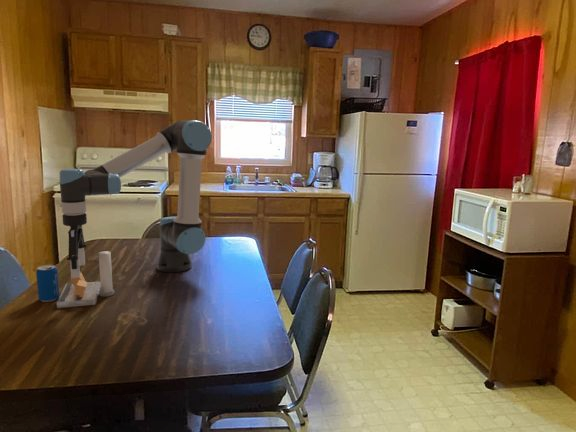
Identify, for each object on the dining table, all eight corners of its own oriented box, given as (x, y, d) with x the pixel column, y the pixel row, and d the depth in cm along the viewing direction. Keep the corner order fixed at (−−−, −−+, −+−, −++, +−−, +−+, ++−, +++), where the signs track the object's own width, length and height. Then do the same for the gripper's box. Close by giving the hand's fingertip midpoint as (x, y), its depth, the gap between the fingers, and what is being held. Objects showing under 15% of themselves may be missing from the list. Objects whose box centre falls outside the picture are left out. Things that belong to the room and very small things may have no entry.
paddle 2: (83, 293, 150) (87, 281, 150) (81, 299, 145) (85, 287, 145) (75, 291, 149) (79, 279, 149) (72, 297, 144) (76, 285, 144)
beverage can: (50, 303, 145) (47, 270, 142) (34, 301, 146) (31, 269, 144) (63, 296, 151) (61, 265, 149) (48, 294, 152) (45, 263, 150)
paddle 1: (86, 282, 158) (81, 271, 157) (84, 287, 153) (78, 276, 152) (78, 285, 158) (73, 274, 156) (76, 290, 153) (70, 280, 151)
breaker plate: (100, 286, 162) (100, 280, 162) (95, 304, 145) (95, 298, 145) (66, 289, 158) (65, 283, 158) (57, 308, 142) (56, 301, 141)
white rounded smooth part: (115, 290, 158) (112, 250, 155) (114, 296, 153) (111, 254, 150) (100, 292, 156) (97, 251, 153) (98, 297, 151) (96, 255, 148)
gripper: (68, 207, 156) (72, 261, 160) (55, 221, 133) (60, 283, 137) (90, 206, 158) (93, 260, 163) (81, 220, 135) (85, 282, 140)
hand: (78, 271), depth 150 cm, fingers open, 13 cm apart
